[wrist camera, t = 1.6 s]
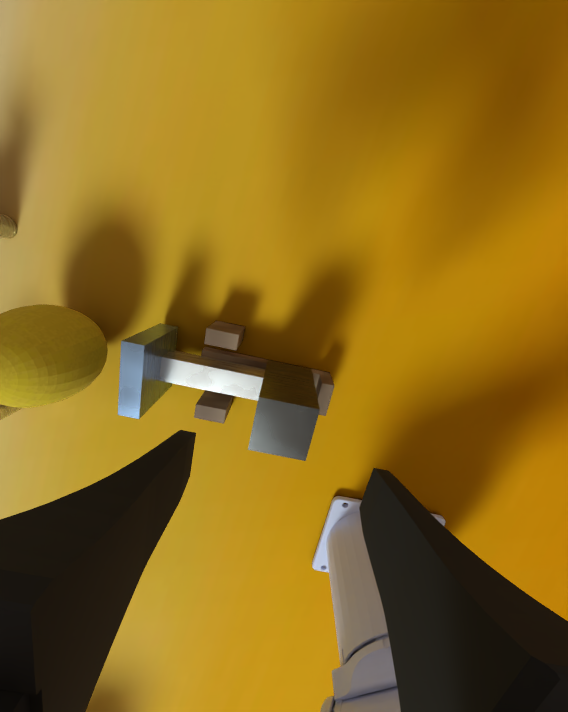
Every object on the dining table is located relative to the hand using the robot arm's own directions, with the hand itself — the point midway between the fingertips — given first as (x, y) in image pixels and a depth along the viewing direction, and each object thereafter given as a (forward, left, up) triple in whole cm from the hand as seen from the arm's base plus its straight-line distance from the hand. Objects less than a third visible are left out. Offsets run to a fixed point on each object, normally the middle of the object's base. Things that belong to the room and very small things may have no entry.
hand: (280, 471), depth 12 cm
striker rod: (+4, 0, -10) cm, 10 cm away
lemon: (+14, 0, -10) cm, 17 cm away
